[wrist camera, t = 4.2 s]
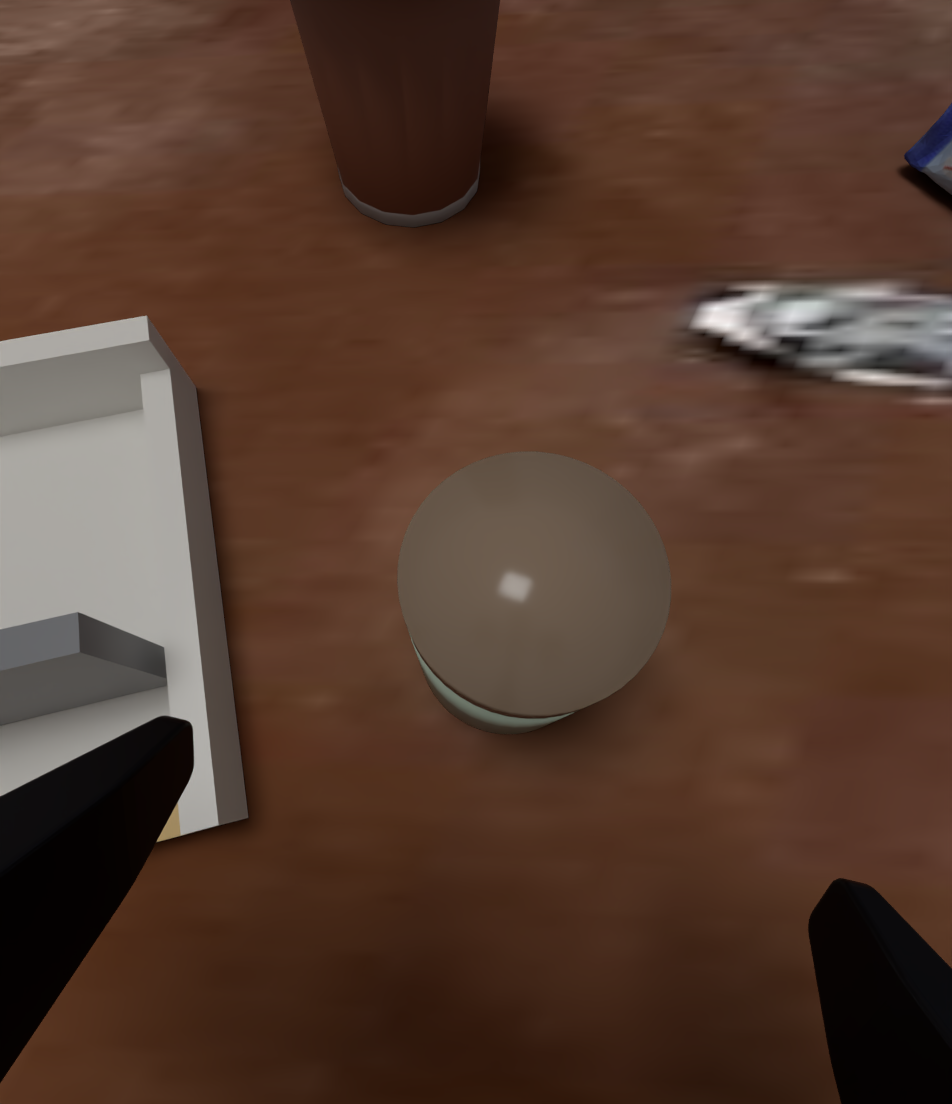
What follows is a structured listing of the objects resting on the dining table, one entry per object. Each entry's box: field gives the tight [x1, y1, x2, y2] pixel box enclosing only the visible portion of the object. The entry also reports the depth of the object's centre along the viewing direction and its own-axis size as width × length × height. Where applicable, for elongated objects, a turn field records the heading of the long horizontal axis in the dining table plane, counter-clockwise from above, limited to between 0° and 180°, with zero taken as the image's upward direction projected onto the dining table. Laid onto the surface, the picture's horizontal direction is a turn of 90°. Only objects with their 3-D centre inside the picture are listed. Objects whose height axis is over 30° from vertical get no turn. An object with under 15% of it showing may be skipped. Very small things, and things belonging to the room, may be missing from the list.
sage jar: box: [397, 452, 671, 734], centre depth 17 cm, size 6×6×8 cm
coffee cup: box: [290, 0, 500, 227], centre depth 22 cm, size 9×9×12 cm
